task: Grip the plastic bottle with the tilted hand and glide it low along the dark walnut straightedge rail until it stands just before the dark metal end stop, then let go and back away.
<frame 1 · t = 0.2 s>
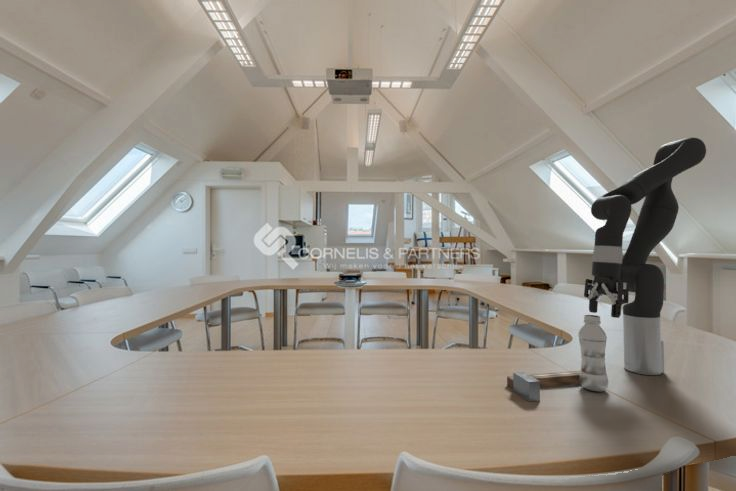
hand: (603, 314, 107), 18 cm above the table, tool pointing down, fingers open, 8 cm apart
walnut rail: (555, 383, 101), on the table
plastic bottle: (593, 390, 96), on the table
metal end stop: (526, 395, 93), on the table
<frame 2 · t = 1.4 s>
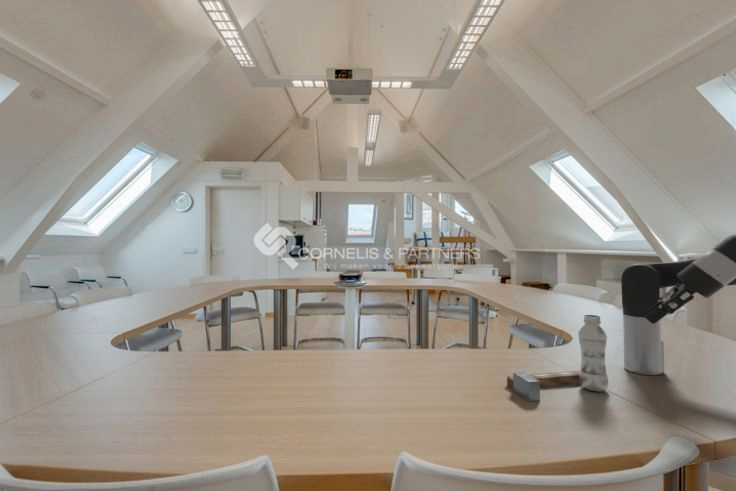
hand: (648, 317, 89), 21 cm above the table, tool tilted 45°, fingers open, 8 cm apart
nothing on the table moved.
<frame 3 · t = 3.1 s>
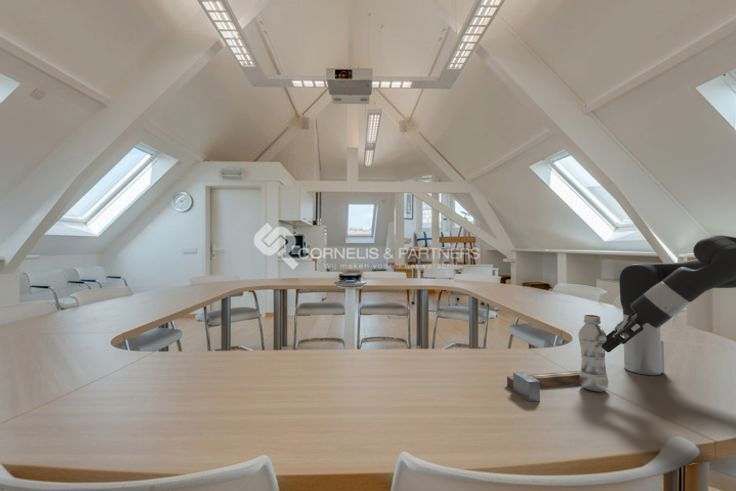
hand: (605, 345, 93), 13 cm above the table, tool tilted 45°, fingers open, 8 cm apart
nothing on the table moved.
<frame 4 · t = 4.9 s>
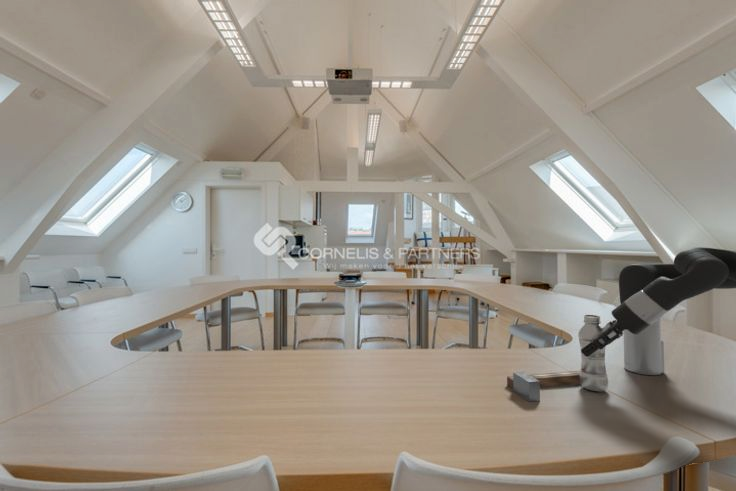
hand: (585, 350, 97), 10 cm above the table, tool tilted 45°, fingers closed on plastic bottle, 6 cm apart
plastic bottle: (593, 390, 96), on the table, touching gripper
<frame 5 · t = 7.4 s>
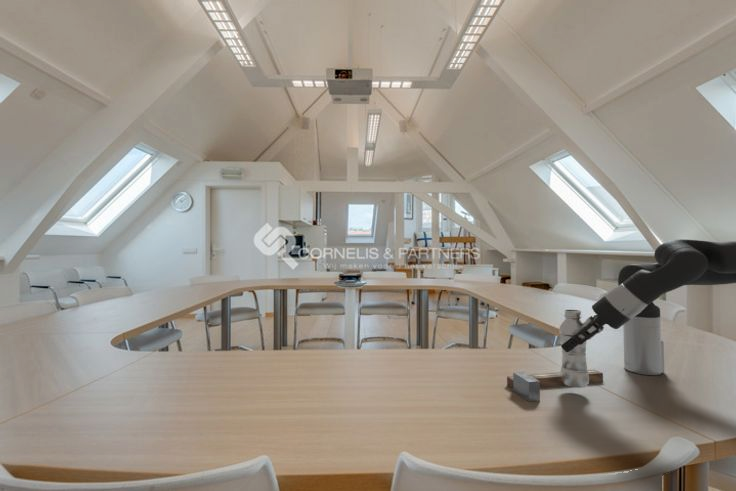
hand: (566, 346, 95), 12 cm above the table, tool tilted 45°, fingers closed on plastic bottle, 6 cm apart
plastic bottle: (574, 386, 94), point 2 cm above the table, touching gripper
when the fingers open (11 cm above the table, at t = 10.0 s): plastic bottle stays where it is, on the table.
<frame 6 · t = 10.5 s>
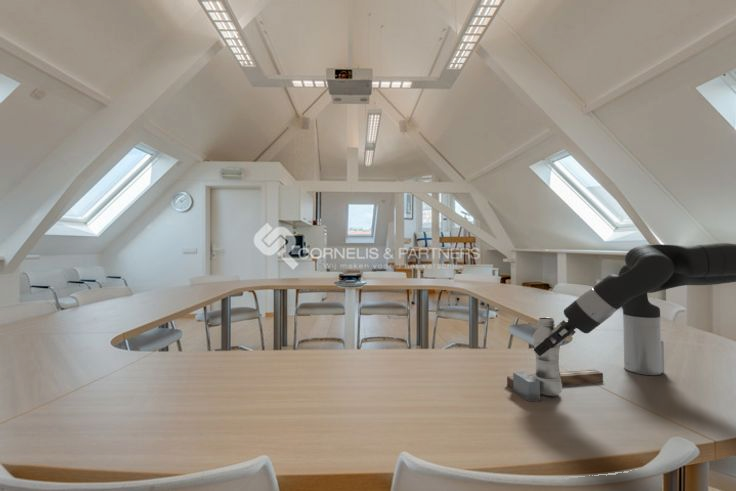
hand: (540, 349, 95), 12 cm above the table, tool tilted 45°, fingers open, 8 cm apart
plastic bottle: (548, 395, 94), on the table
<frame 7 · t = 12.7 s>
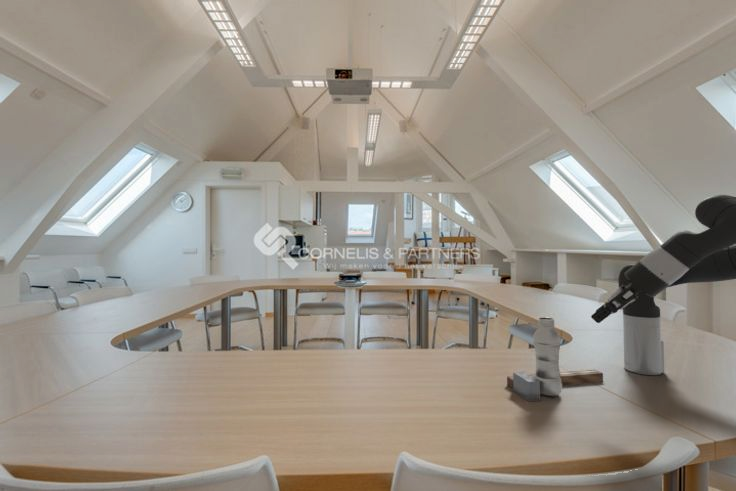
hand: (596, 317, 87), 22 cm above the table, tool tilted 45°, fingers open, 8 cm apart
nothing on the table moved.
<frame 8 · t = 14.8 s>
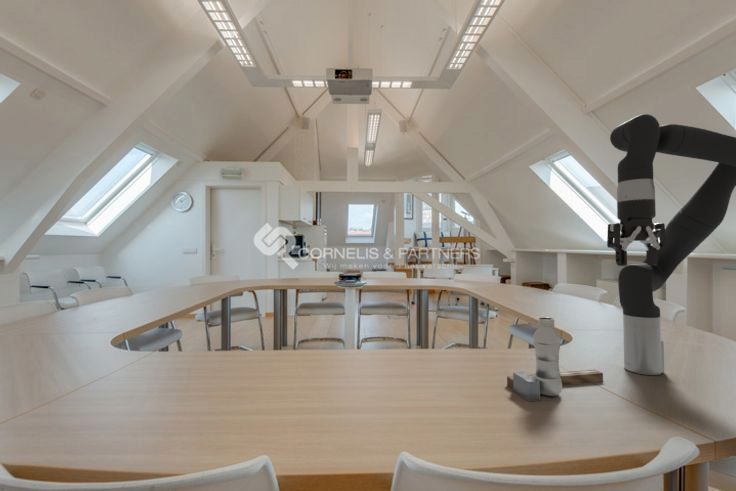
hand: (637, 265, 87), 34 cm above the table, tool pointing down, fingers open, 8 cm apart
nothing on the table moved.
at the end: plastic bottle inside the target area (0.7 cm from its centre), on the table; plastic bottle tilted 0°; the gripper is holding nothing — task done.
